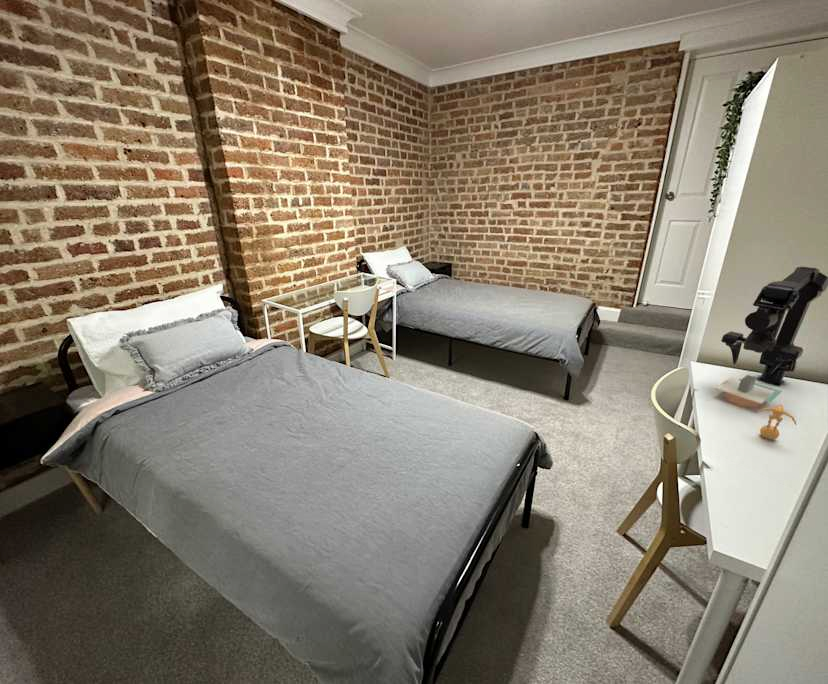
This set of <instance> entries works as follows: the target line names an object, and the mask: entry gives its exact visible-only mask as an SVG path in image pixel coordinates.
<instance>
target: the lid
mask: <svg viewBox="0 0 828 684" xmlns="http://www.w3.org/2000/svg"><path fill="white" fill-rule="evenodd" d="M757 378H758V377H757V376H753V375H750V374H746V375H745V376H744V377H743V378H740V379H741V381H740V380H739V379H736V378H733V377H729V378H727V379H726V380H724V381H723V382H722V383H720V384H719V385H718V386H717V387H716V390H718V391H722V392H723V393H724V392H727V393H730V394H733V395H736V396H739V397H742V398H745V399H748V400H751V401H754V402H757V403H760V405H762V404H763V403H765V401H767V400H766V399H768V398H769V397H770V396H771V395H772V394H773V393H774V391H772V390H769V389H766V388H763V387H759V386H756V385H754V384H755V383H756V380H757Z"/></svg>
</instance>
